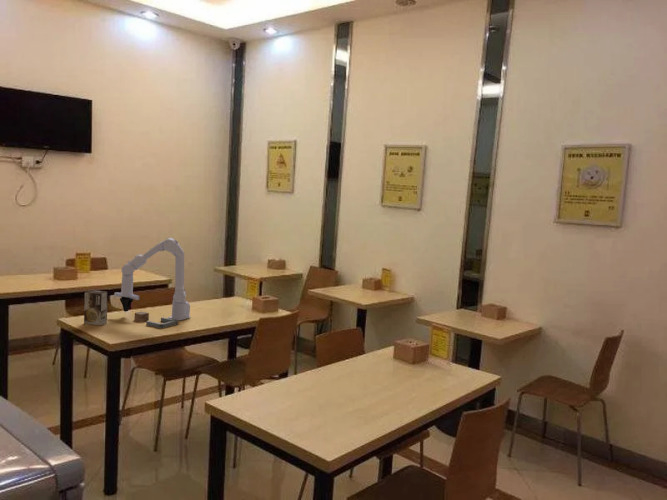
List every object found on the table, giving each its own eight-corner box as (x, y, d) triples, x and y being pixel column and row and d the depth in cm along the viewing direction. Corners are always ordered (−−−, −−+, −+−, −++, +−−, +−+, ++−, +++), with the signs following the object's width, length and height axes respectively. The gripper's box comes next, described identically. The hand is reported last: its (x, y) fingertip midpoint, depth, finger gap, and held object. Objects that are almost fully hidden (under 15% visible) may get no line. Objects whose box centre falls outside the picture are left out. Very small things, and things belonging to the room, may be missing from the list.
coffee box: (107, 322, 275) (108, 291, 274) (100, 325, 269) (101, 293, 267) (90, 320, 276) (91, 289, 274) (83, 323, 270) (84, 291, 268)
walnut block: (141, 318, 289) (141, 311, 289) (148, 320, 287) (148, 312, 287) (134, 320, 285) (134, 312, 285) (141, 322, 283) (141, 314, 282)
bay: (162, 320, 288) (162, 317, 288) (177, 324, 284) (177, 320, 284) (146, 325, 277) (146, 321, 277) (161, 328, 273) (161, 324, 273)
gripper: (143, 287, 290) (142, 311, 292) (121, 283, 295) (120, 307, 296) (134, 288, 284) (133, 314, 285) (112, 285, 288) (110, 310, 290)
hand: (125, 311), depth 290 cm, fingers closed
